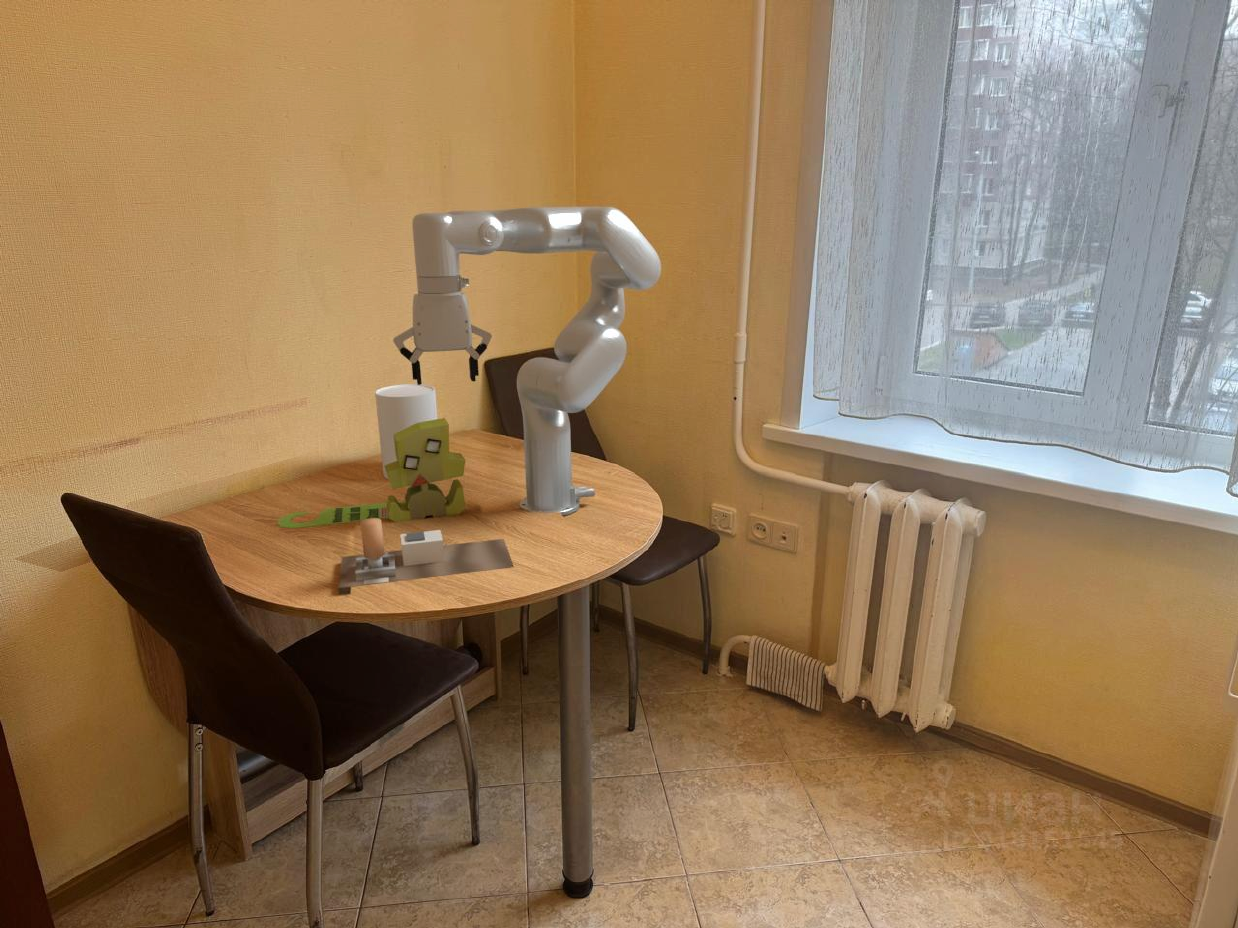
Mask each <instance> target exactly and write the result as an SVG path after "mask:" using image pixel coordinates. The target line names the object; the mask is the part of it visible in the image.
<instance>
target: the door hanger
mask: <svg viewBox="0 0 1238 928" xmlns="http://www.w3.org/2000/svg"><path fill="white" fill-rule="evenodd" d="M397 501H398V500H397ZM398 502H404V501H402V500H399V501H398ZM386 506H387V502H381V503H371V504H360V505H350V506H341V507H333V508H332V507H330V508H326V509H324V510H322V511H321V512H320V513H319V515H318V516H317V518H316V519H315V520H314V519H313V520H312V521H311V520H310V521H307V522H293V521H292V519H293V518H295V517H299V516H303V515H307V514H308V513H309V511H307V510H301V511H300V510H299V511H297V512H292V513H288V514H286V515H283V516H282V517H280V518H279V519H278V521H277V525H278V526H279V527H280V528H282V529H283V528H284V529H286V528H287V529H302V528H303V529H304V528H309V527H320V526H329V525H337V524H338V525H339V524H340V525H341V524H346V523H347V524H348V523H358V522H359V523H360V522H361V521H363V520H365V519H369V518H378V519H381V520H384V519H385V520H387V519H389V517H388V514H387V510H386Z"/></svg>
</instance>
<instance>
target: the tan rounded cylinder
mask: <svg viewBox="0 0 1238 928" xmlns="http://www.w3.org/2000/svg"><path fill="white" fill-rule="evenodd" d="M382 524H383V523H382V519H378V518H369V519H365V520H363V521H359V525H360V530H361V531H360V532H361V541H362V550H363V554H364V557H365V558H367V559H368V568H369V569H375V568H383V561H382V556H383V555H384V554H385V545H384V544H385V543H384V534H383V525H382Z"/></svg>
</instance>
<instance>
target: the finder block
mask: <svg viewBox="0 0 1238 928" xmlns="http://www.w3.org/2000/svg"><path fill="white" fill-rule="evenodd" d="M400 542H401V543H400V544H401V550H402V556H403V564H404V566H410V565H418V564H426V563H434V562H442V561H445V559H444V547H443V546H444V538H443V535H442V531H441V529H437V530H428V531H427V530H426V531H419V532H408V533H403V534H402V533H401V534H400Z"/></svg>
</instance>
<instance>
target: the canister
mask: <svg viewBox="0 0 1238 928" xmlns="http://www.w3.org/2000/svg"><path fill="white" fill-rule="evenodd" d="M374 394H375V405H376V413H377V414H376V415H377V424H378V425H377V426H378V433H379V434H378V435H379V444H380V453H381V463H382V472H383V473H382V474H383V477H384V478H385V479H386V480H389V478H388V475H387V472H386V469H385V465H387V464H390V463H393V462H395V461H397V458H396V453H395V443H394V434H396V433H398V432H400V431H402V430H404V429H406V428H408V427H410V426H412V425H414V424H416V423H419V422H424V421H430V420H436V419H439V418H438V407H437V395H436V387H434V386H433V385H430V384H429V385H428V384H423V383H422V384H421V385H418V384H417V383H408V384H407V383H403V384H396V385H390V386H384V387H381V388H378V389H377V390H375V391H374Z"/></svg>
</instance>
